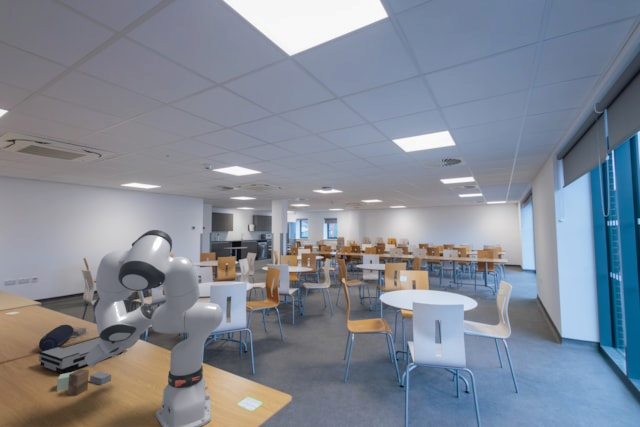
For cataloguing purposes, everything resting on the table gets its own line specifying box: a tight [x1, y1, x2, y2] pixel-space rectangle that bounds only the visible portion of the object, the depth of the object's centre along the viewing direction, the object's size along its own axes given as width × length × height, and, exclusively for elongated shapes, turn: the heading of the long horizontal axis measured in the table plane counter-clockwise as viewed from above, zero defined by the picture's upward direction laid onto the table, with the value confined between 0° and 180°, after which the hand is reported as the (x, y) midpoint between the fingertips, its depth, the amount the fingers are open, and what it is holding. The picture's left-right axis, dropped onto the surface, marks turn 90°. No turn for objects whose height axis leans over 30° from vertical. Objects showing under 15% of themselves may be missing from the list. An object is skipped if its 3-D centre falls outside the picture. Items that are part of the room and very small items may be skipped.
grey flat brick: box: [89, 371, 112, 386], centre depth 127 cm, size 8×4×3 cm, turn 68°
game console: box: [38, 336, 122, 374], centre depth 150 cm, size 21×32×8 cm, turn 156°
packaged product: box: [69, 327, 89, 339], centre depth 186 cm, size 18×5×10 cm
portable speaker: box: [38, 324, 74, 351], centre depth 168 cm, size 25×10×10 cm, turn 25°
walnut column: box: [67, 368, 90, 397], centre depth 118 cm, size 4×4×8 cm
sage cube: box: [56, 371, 74, 392], centre depth 122 cm, size 5×5×5 cm
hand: (102, 360), depth 116 cm, fingers open, 8 cm apart
